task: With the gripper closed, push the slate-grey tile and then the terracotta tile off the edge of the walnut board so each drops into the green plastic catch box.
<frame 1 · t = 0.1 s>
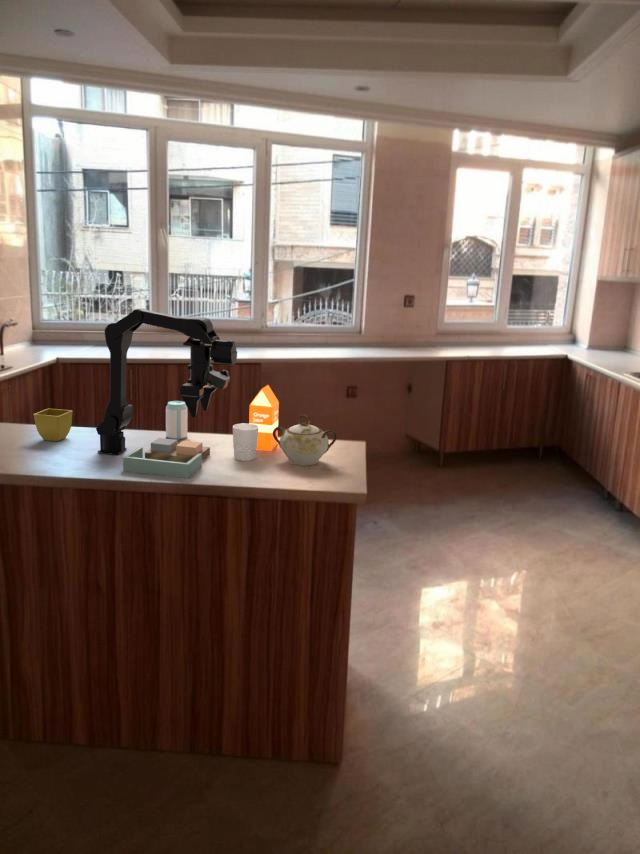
hand: (199, 414, 196), 15 cm above the table, fingers open, 9 cm apart
sugar bowl: (303, 462, 204), on the table
can: (176, 437, 223), on the table
slate tile: (164, 449, 200), point 2 cm above the table, touching walnut board
orange juice: (262, 446, 218), on the table
terracotta tile: (189, 452, 199), point 2 cm above the table, touching walnut board
flower pot: (54, 439, 213), on the table
walnut board: (178, 457, 201), on the table
white cup: (244, 458, 205), on the table
catch box: (163, 468, 191), on the table
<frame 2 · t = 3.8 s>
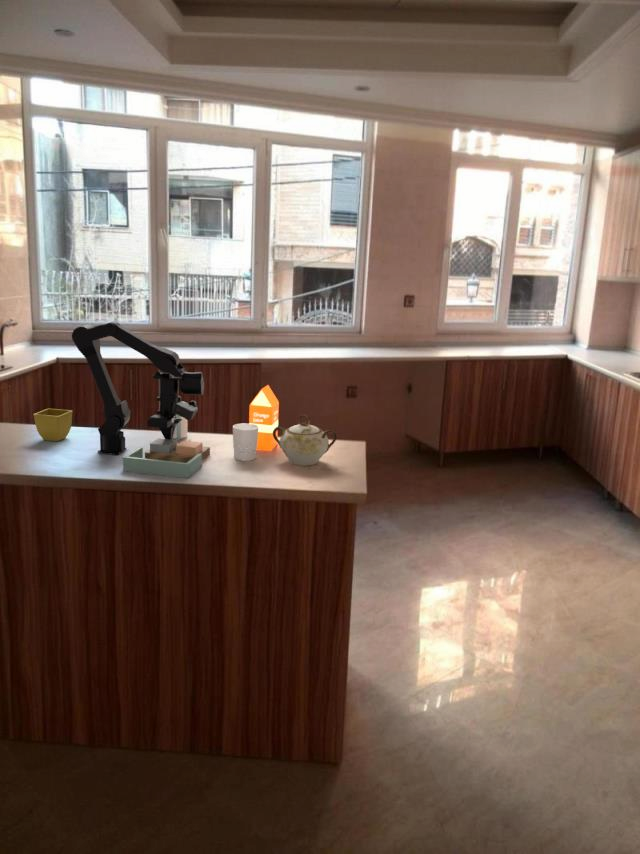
hand: (169, 443, 203), 4 cm above the table, fingers closed
nothing on the table moved.
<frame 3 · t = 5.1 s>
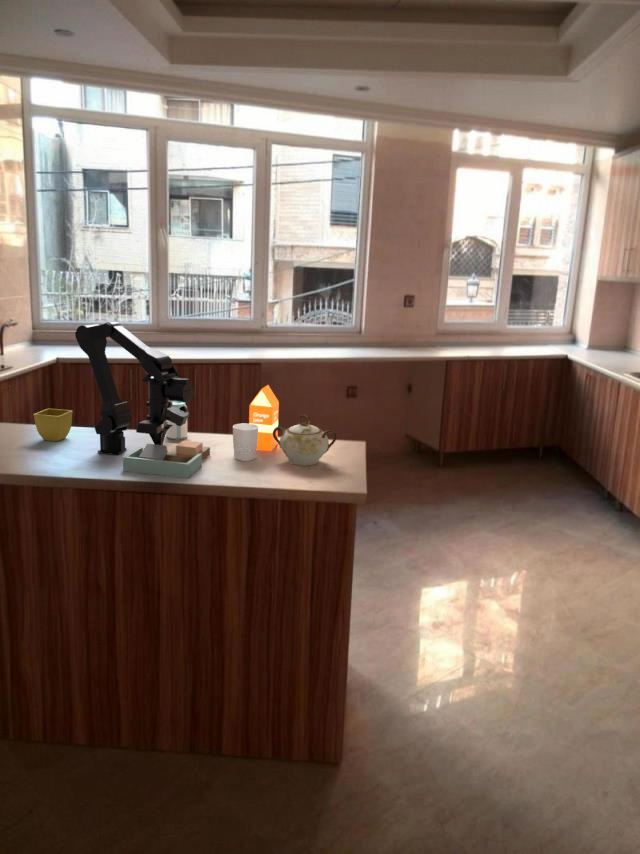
hand: (159, 449, 197), 4 cm above the table, fingers closed
slate tile: (154, 457, 194), point 2 cm above the table, tilted 24°, touching catch box, gripper
everything else where it was.
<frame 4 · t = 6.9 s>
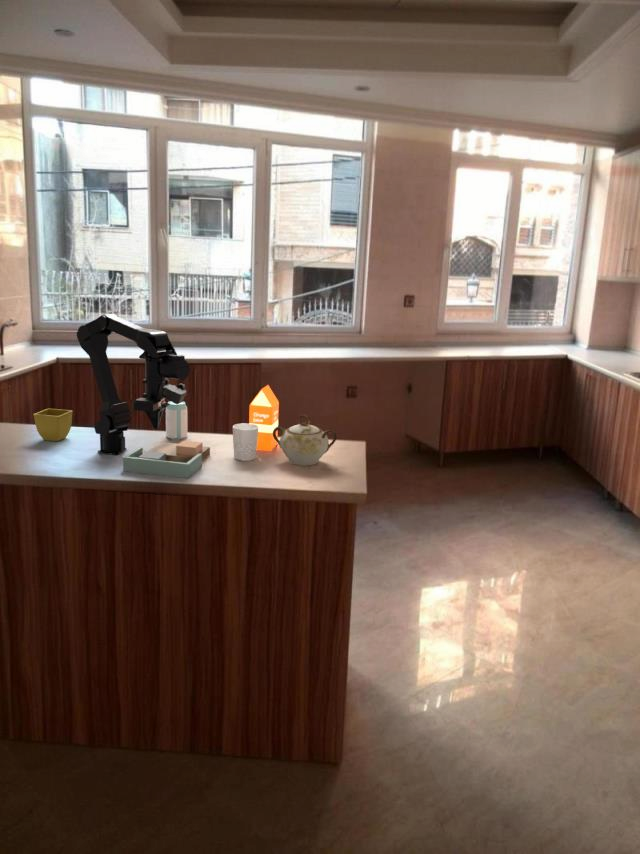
hand: (156, 428, 193), 11 cm above the table, fingers closed
slate tile: (152, 463, 193), point 1 cm above the table, touching catch box
everything else where it was.
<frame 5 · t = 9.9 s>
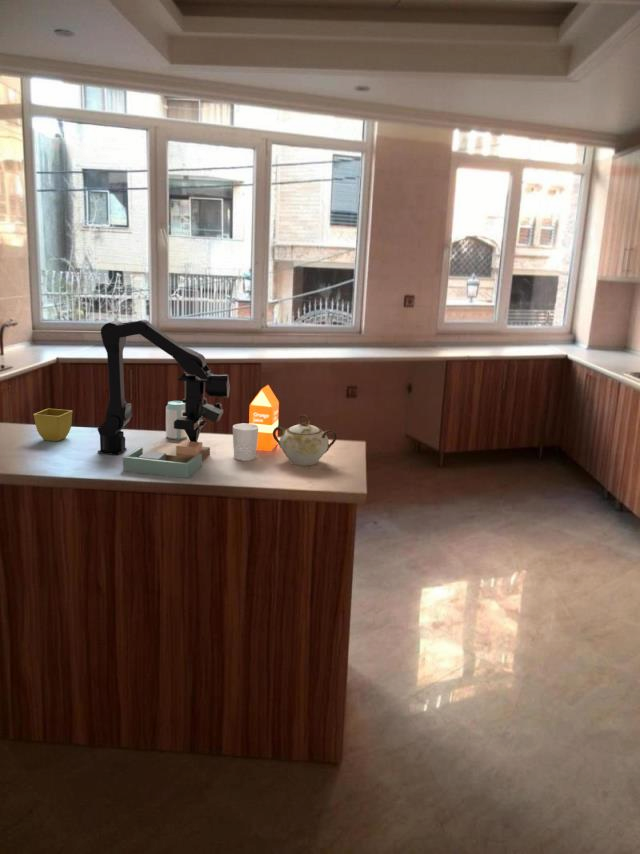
hand: (194, 445, 203), 3 cm above the table, fingers closed
terracotta tile: (189, 452, 199), point 2 cm above the table, touching gripper, walnut board
everything else where it was.
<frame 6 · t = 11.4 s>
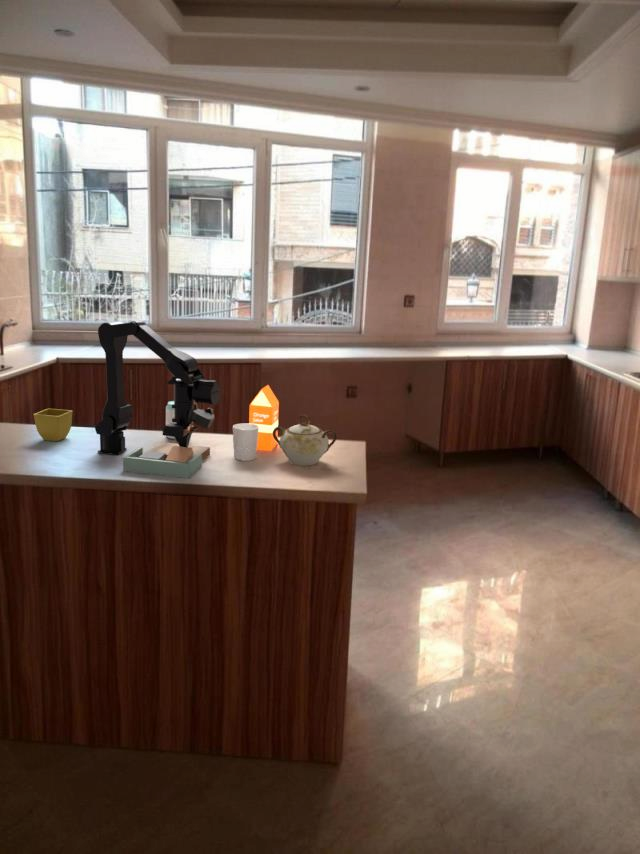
hand: (184, 452, 195), 4 cm above the table, fingers closed
terracotta tile: (180, 459, 193), point 2 cm above the table, tilted 27°, touching gripper
everything else where it was.
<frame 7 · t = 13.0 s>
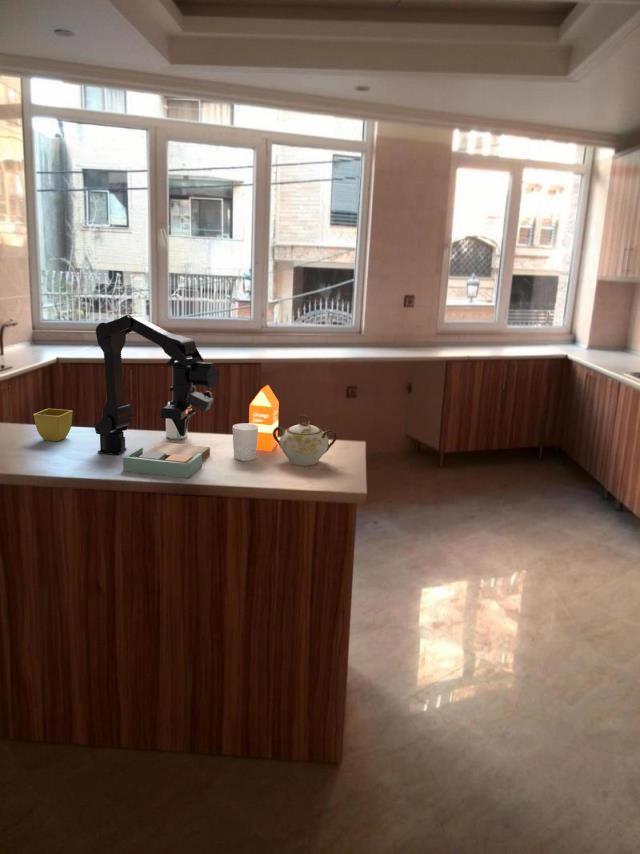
hand: (182, 436, 192), 9 cm above the table, fingers closed
terracotta tile: (179, 465, 192), point 1 cm above the table, touching catch box
everything else where it was.
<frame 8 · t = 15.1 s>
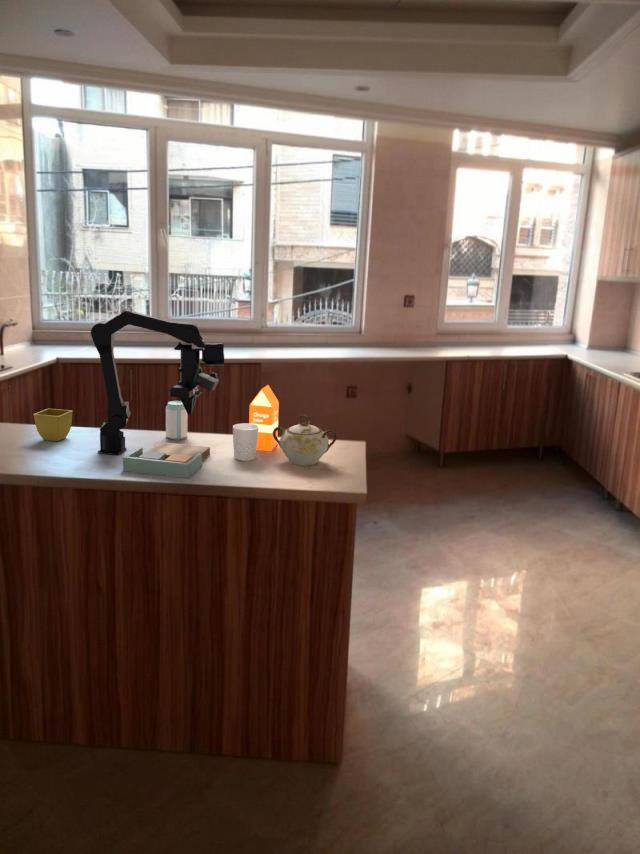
hand: (189, 414, 205), 12 cm above the table, fingers closed
nothing on the table moved.
at the end: slate tile inside the target area (4.7 cm from its centre), point 0.6 cm above the table; terracotta tile inside the target area (4.5 cm from its centre), point 0.6 cm above the table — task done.
